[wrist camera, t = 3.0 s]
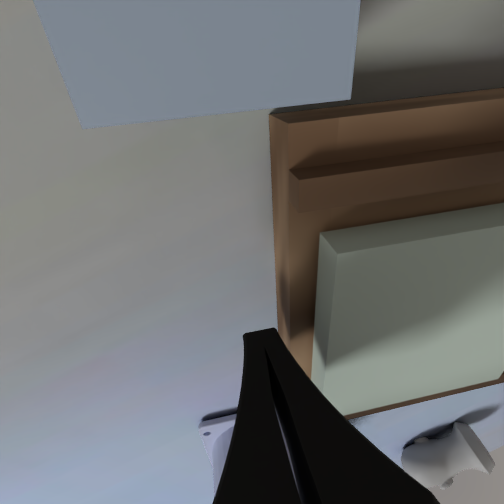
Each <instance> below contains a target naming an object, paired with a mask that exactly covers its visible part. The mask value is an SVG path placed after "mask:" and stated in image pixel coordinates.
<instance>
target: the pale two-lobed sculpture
mask: <svg viewBox="0 0 504 504" xmlns="http://www.w3.org/2000/svg"><path fill="white" fill-rule="evenodd" d="M414 442H415V443H414V444H412V445H410V446H408V447H406V448H405V449H404V450H403V452H402V456H401V462H402V466H403V469H404V471H405V472H406V473H408V474H409V475H410V476H411V477H413V478H414V479H415V480H416V481H418V482H419V483H420V484H422V485H423V486H424V487H425V488H431V487H435V486H438V485H439V486H440V488H441V489H446V488H448V487H449V486H450V485H451V484H452V483H453V480H452V478H454V477H455V476H456V475H457V474H458V472H460V471H463V470H466V469H477V470H480V471H483V472H485V473H487V474H490V473H491V472H492V469H493V468H494V466H495V463H494V461H493V459H492V458H491V456H490V455H489V453H488V451H487V450H486V448H485V447H484V445H483V444H482V442H481V441H480V439H479V438H478V437H477V435H476V434H475V433H474V431H473V430H472V429H471V428H470V426H469V425H468V424H464V423H459V422H454V426H453V430H452V432H451V433H450V434H449V435H448V436H447V437H445V438H442V439H427V438H426V437H421V438H418V439H416V440H415V441H414Z"/></svg>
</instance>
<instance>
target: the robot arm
mask: <svg viewBox="0 0 504 504" xmlns="http://www.w3.org/2000/svg"><path fill="white" fill-rule="evenodd" d="M243 341H244V366H243V376H242V385H241V392H240V398H239V404H238V410H237V414H233V415H229V416H224V417H220V418H216V419H211V420H207V421H203V422H201V423H200V424H199V426H198V428H199V434H200V436H201V439H202V442H203V444H204V447H205V449H206V452H207V455H208V457H209V460H210V462H211V465H212V468H213V480H214V501H213V504H440V503H439V502H438V501H437V499H436V498H435V496H434V495H433V494H432V493H431V492H430V491H429V490H428V489H427V488H425V487H424V486H423V485H422V484H420V483H419V482H418V481H416V480H415V479H414V478H413V477H411V476H410V475H409V474H408V473H406V472H405V471H404V470H403V469H401V468H400V467H399V466H398V465H397V464H395V463H394V462H393V461H392V460H391V459H389V458H388V457H387V456H386V455H385V454H384V453H382V452H381V451H380V450H379V449H378V448H377V447H376V446H375V445H373V444H372V443H371V442H370V441H369V440H368V439H367V438H366V437H365V436H364V435H363V434H361V433H360V432H359V431H358V430H357V429H356V428H355V427H354V426H353V425H352V424H351V423H350V422H349V421H348V420H347V419H346V418H345V417H344V416H343V415H342V414H341V413H340V412H339V411H338V410H337V409H336V408H335V407H334V406H333V405H332V404H331V403H330V402H329V400H328V399H327V398H326V397H325V396H324V395H323V394H322V393H321V391H320V390H319V389H318V388H317V387H316V386H315V384H314V383H313V382H312V381H311V380H310V378H309V377H308V376H307V375H306V373H305V372H304V371H303V369H302V368H301V367H300V365H299V364H298V363H297V361H296V360H295V359H294V357H293V356H292V354H291V353H290V351H289V350H288V348H287V347H286V345H285V344H284V342H283V340H282V339H281V337H280V335H279V333H278V332H277V329H275V328H269V329H264V330H259V331H254V332H249V333H245V334H244V335H243Z"/></svg>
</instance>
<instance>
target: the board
mask: <svg viewBox="0 0 504 504" xmlns="http://www.w3.org/2000/svg"><path fill="white" fill-rule="evenodd" d="M269 131H270V154H271V177H272V201H273V224H274V247H275V270H276V294H277V317H278V333H279V335H280V337H281V339H282V340H283V342H284V344H285V345H286V347H287V348H288V350H289V351H290V353H291V354H292V356H293V357H294V359H295V360H296V361H297V363H298V364H299V365H300V367H301V368H302V369H303V371H304V372H305V373H306V375H307V376H308V377H309V378H310V380H311V371H312V355H313V338H314V321H315V305H316V288H317V272H318V255H319V239H320V232H326V231H332V230H338V229H344V228H351V227H357V226H363V225H369V224H375V223H381V222H387V221H394V220H400V219H406V218H412V217H418V216H424V215H431V214H437V213H443V212H449V211H455V210H461V209H467V208H474V207H480V206H486V205H492V204H498V203H504V88H496V89H488V90H479V91H470V92H461V93H452V94H444V95H435V96H426V97H417V98H408V99H399V100H391V101H382V102H373V103H364V104H355V105H346V106H338V107H329V108H320V109H311V110H302V111H294V112H285V113H276V114H269ZM503 382H504V371H503V373H502V374H501V376H500V377H499V379H496V380H491V381H487V382H483V383H479V384H475V385H470V386H466V387H462V388H458V389H454V390H449V391H445V392H441V393H437V394H433V395H428V396H424V397H420V398H416V399H412V400H407V401H403V402H399V403H395V404H391V405H386V406H382V407H378V408H374V409H370V410H365V411H361V412H357V413H353V414H349V415H344V417H345V418H346V419H347V420H349V419H353V418H357V417H361V416H366V415H370V414H374V413H378V412H382V411H386V410H391V409H395V408H399V407H403V406H407V405H411V404H416V403H420V402H424V401H428V400H432V399H437V398H441V397H445V396H449V395H453V394H457V393H462V392H466V391H470V390H474V389H478V388H482V387H487V386H491V385H495V384H499V383H503Z"/></svg>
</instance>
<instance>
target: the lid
mask: <svg viewBox="0 0 504 504" xmlns="http://www.w3.org/2000/svg"><path fill="white" fill-rule="evenodd" d="M503 371H504V203H498V204H492V205H486V206H480V207H474V208H467V209H461V210H455V211H449V212H443V213H437V214H431V215H424V216H418V217H412V218H406V219H400V220H394V221H387V222H381V223H375V224H369V225H363V226H357V227H351V228H344V229H338V230H332V231H326V232H320V239H319V255H318V272H317V288H316V305H315V321H314V338H313V355H312V371H311V381H312V382H313V383H314V384H315V386H316V387H317V388H318V389H319V390H320V391H321V393H322V394H323V395H324V396H325V397H326V398H327V399H328V400H329V402H330V403H331V404H332V405H333V406H334V407H335V408H336V409H337V410H338V411H339V412H340V413H341V414H342V415H343V416H344V415H349V414H353V413H357V412H361V411H365V410H370V409H374V408H378V407H382V406H386V405H391V404H395V403H399V402H403V401H407V400H412V399H416V398H420V397H424V396H428V395H433V394H437V393H441V392H445V391H449V390H454V389H458V388H462V387H466V386H470V385H475V384H479V383H483V382H487V381H491V380H496V379H499V377H500V376H501V374H502V373H503Z"/></svg>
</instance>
